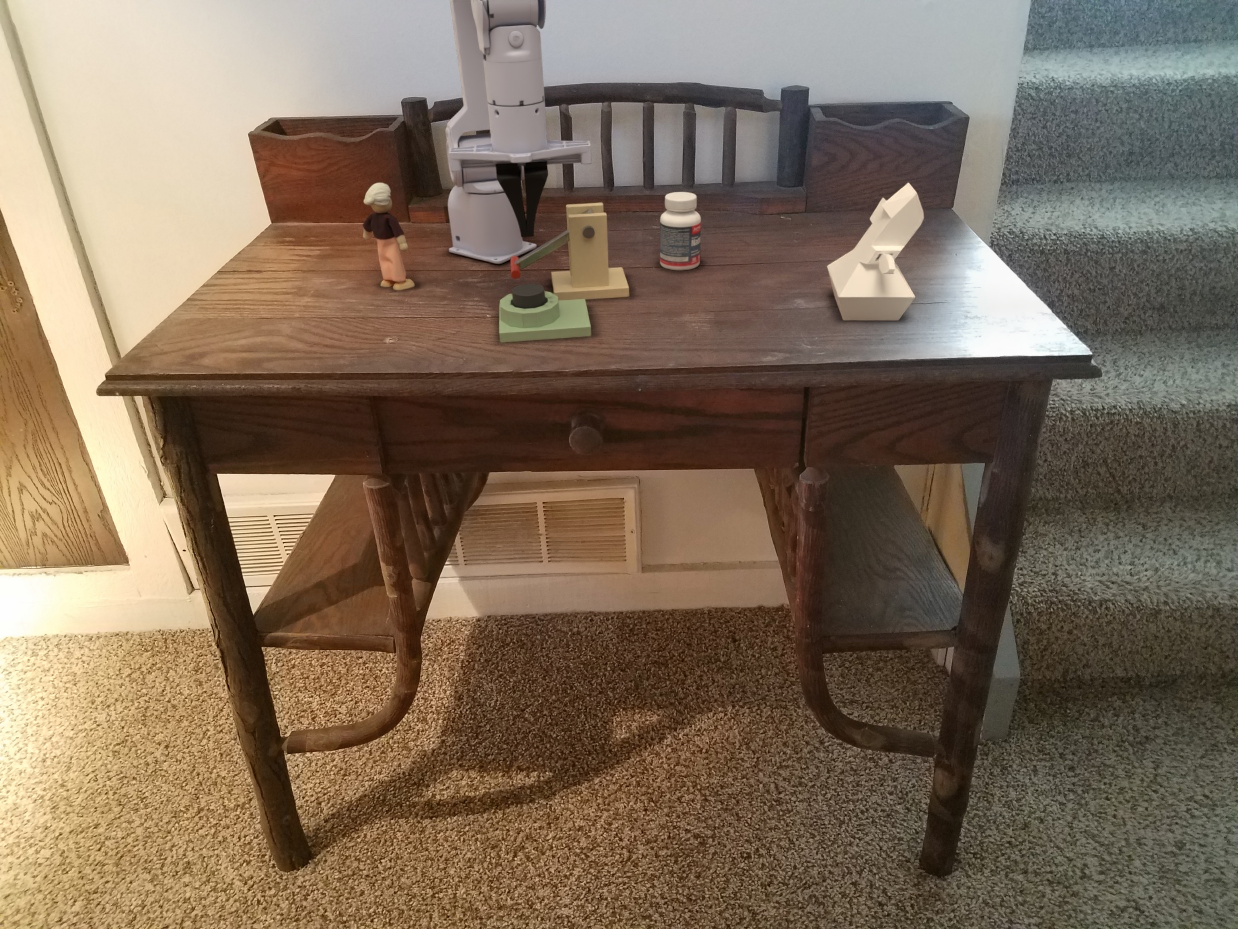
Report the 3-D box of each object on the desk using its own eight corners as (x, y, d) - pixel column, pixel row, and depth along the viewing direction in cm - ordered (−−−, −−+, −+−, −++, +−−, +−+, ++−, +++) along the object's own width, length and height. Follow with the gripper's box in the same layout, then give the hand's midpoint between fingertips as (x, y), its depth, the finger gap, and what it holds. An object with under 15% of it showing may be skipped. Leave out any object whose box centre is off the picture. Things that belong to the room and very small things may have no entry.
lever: (517, 285, 103) (506, 268, 102) (516, 270, 108) (506, 254, 106) (604, 234, 101) (593, 216, 100) (599, 220, 106) (590, 203, 104)
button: (513, 311, 95) (512, 296, 94) (513, 299, 98) (511, 284, 97) (546, 309, 96) (545, 294, 95) (544, 296, 99) (543, 282, 98)
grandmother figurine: (428, 283, 110) (412, 181, 103) (410, 293, 107) (393, 190, 100) (379, 275, 113) (361, 176, 106) (360, 285, 110) (340, 184, 103)
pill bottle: (697, 272, 111) (698, 203, 106) (656, 270, 112) (656, 201, 107) (702, 258, 115) (704, 190, 111) (663, 256, 116) (663, 189, 111)
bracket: (554, 301, 104) (549, 221, 99) (551, 280, 110) (546, 203, 105) (629, 296, 105) (627, 216, 100) (622, 276, 111) (620, 198, 105)
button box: (500, 343, 95) (497, 317, 93) (500, 313, 102) (497, 289, 100) (591, 336, 96) (590, 311, 94) (585, 308, 102) (584, 283, 101)
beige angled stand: (838, 334, 95) (853, 208, 87) (821, 285, 106) (834, 171, 99) (917, 334, 94) (939, 207, 86) (892, 286, 106) (909, 170, 98)
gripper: (440, 112, 83) (458, 250, 90) (591, 105, 84) (597, 242, 92) (444, 98, 89) (461, 228, 96) (585, 91, 90) (591, 221, 97)
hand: (527, 234), depth 94 cm, fingers closed
